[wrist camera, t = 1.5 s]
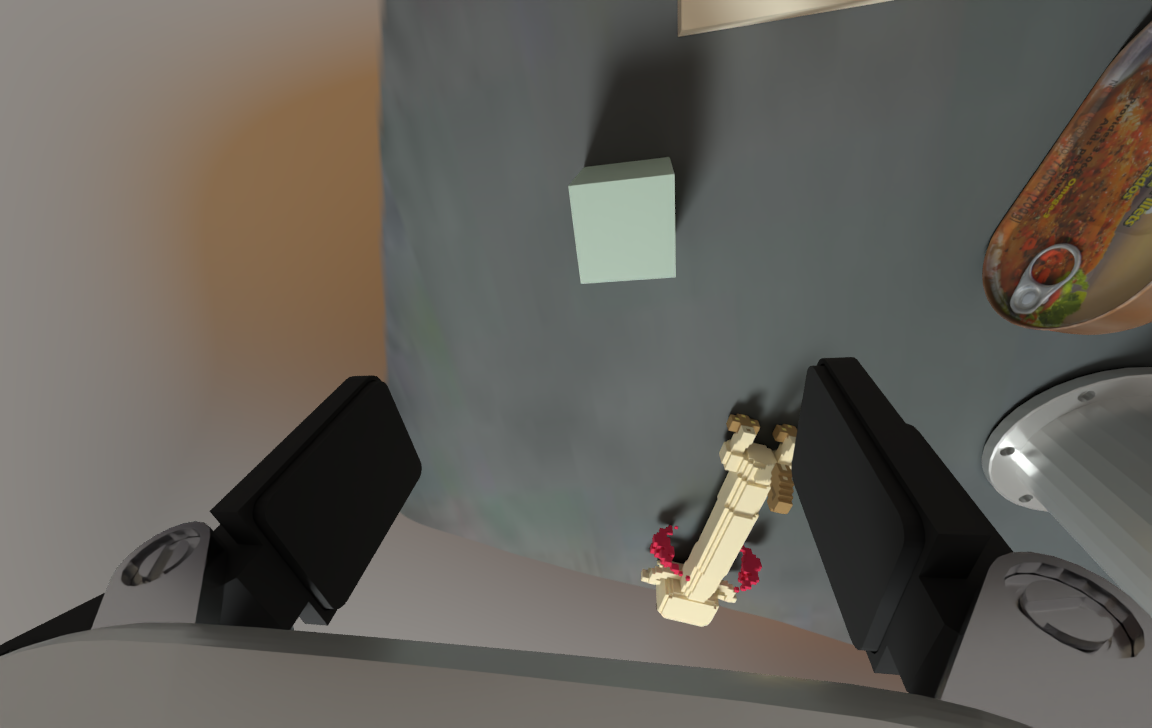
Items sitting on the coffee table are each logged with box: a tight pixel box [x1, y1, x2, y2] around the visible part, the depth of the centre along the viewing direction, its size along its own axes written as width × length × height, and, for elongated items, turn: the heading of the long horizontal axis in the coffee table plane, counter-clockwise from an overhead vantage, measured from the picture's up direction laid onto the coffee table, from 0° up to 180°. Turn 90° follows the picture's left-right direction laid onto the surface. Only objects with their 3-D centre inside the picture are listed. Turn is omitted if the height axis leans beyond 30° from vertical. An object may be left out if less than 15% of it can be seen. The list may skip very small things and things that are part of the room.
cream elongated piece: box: [641, 413, 797, 627], centre depth 37 cm, size 10×9×25 cm
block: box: [568, 157, 676, 284], centre depth 24 cm, size 5×5×6 cm
